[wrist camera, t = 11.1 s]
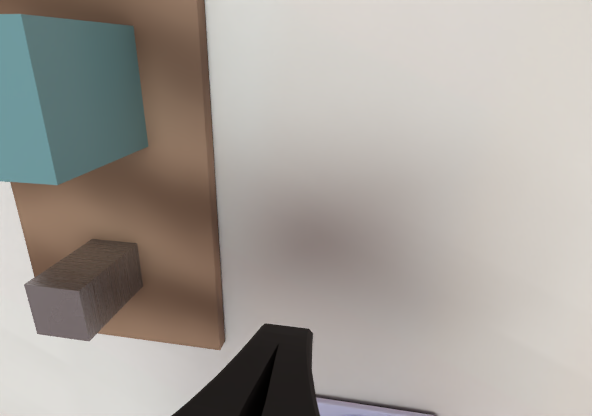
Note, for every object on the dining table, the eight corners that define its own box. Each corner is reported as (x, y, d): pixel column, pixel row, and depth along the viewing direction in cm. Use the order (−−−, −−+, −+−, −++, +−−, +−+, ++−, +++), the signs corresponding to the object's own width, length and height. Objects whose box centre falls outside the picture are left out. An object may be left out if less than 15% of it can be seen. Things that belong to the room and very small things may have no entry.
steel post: (143, 285, 22) (89, 341, 18) (100, 280, 23) (37, 333, 18) (137, 243, 21) (78, 291, 17) (92, 238, 22) (24, 284, 17)
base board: (224, 340, 24) (220, 350, 23) (56, 318, 25) (47, 326, 25) (201, -34, 17) (194, -38, 16) (-28, -30, 18) (-45, -33, 18)
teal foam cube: (148, 146, 19) (57, 185, 14) (50, 141, 20) (-73, 175, 14) (133, 25, 17) (21, 14, 12) (25, 25, 18) (-127, 14, 12)
